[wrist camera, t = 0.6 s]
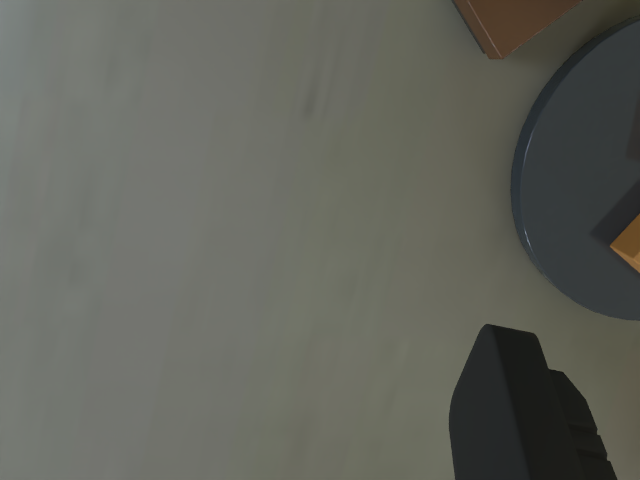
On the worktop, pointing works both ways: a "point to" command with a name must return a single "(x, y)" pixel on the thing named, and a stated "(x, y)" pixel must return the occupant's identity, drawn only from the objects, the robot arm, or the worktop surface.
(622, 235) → the crust
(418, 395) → the worktop surface
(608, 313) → the turntable plate
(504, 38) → the peg on stand
